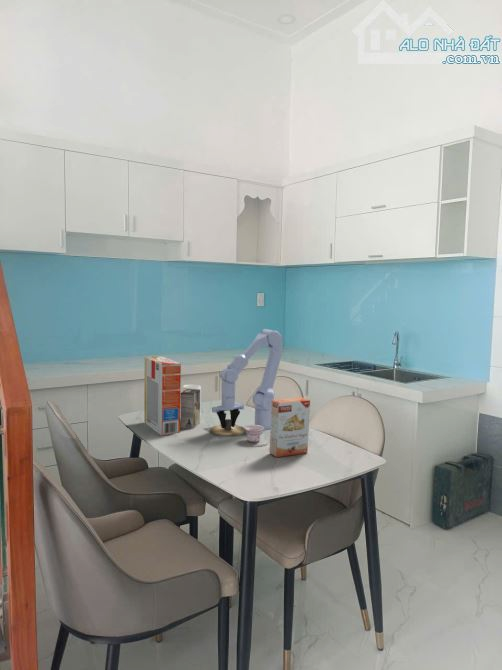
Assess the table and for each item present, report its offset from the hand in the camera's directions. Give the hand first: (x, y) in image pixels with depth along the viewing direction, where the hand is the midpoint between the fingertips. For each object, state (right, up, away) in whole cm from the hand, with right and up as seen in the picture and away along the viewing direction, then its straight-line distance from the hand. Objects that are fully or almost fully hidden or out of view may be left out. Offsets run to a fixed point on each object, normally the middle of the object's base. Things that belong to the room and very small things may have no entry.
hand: (227, 427), depth 221 cm
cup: (-18, 0, +19) cm, 26 cm away
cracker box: (+24, -6, -26) cm, 36 cm away
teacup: (+11, -4, -13) cm, 18 cm away
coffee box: (-17, -1, +8) cm, 19 cm away
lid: (0, -2, 0) cm, 2 cm away
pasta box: (-29, -1, +4) cm, 30 cm away
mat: (0, -2, 0) cm, 2 cm away
